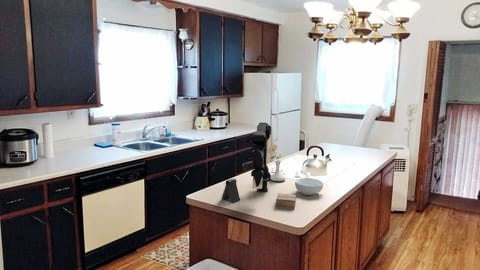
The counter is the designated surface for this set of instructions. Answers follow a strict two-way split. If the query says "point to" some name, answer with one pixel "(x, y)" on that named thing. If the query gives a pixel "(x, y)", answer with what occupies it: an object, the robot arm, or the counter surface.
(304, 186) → the cereal bowl
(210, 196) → the counter surface
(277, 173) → the flower in vase
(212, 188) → the counter surface
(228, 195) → the dark grey tapered block
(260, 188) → the maple cube
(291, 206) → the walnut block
